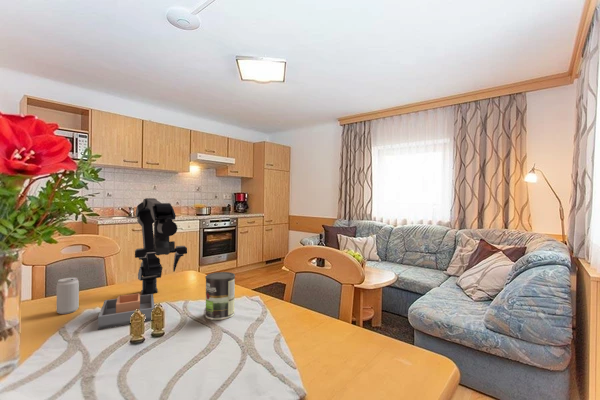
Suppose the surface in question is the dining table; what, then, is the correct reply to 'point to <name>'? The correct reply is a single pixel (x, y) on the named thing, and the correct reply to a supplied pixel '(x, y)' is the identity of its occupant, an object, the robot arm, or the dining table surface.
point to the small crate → (128, 303)
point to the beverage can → (67, 295)
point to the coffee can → (220, 295)
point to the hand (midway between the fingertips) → (161, 272)
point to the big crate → (113, 319)
